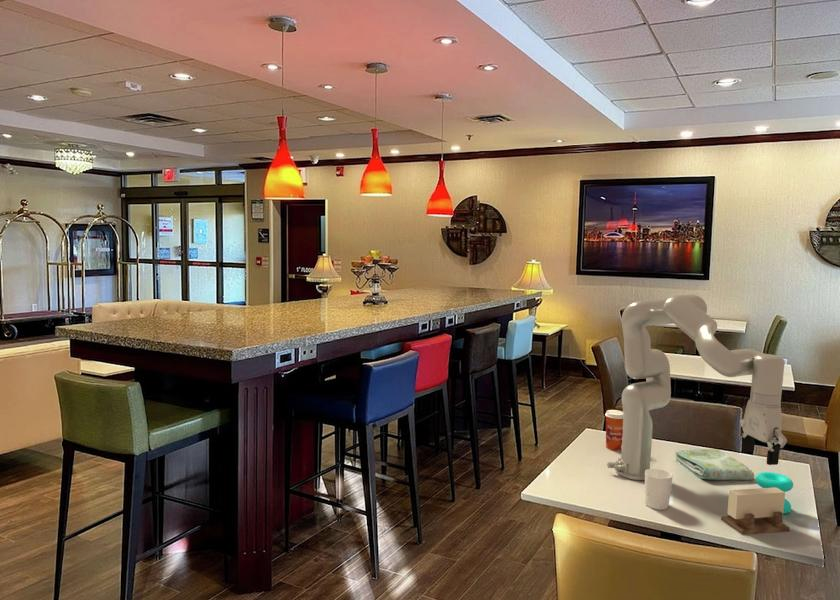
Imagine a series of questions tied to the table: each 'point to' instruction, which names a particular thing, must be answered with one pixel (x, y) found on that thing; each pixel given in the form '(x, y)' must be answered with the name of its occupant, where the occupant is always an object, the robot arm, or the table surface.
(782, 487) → the donuts
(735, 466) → the towel
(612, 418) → the paper cup
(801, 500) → the table surface
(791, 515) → the table surface
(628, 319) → the robot arm
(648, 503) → the white cup
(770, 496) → the cream rectangular block
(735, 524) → the rack
